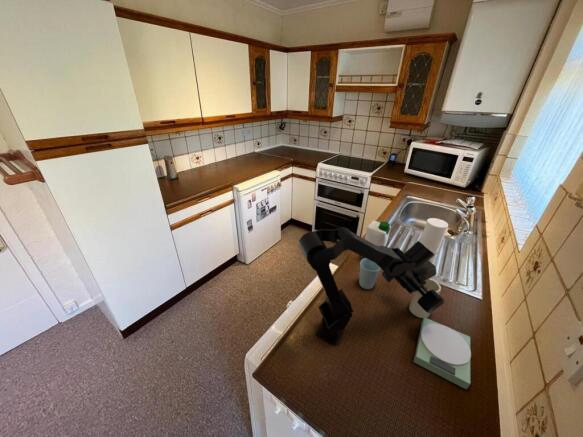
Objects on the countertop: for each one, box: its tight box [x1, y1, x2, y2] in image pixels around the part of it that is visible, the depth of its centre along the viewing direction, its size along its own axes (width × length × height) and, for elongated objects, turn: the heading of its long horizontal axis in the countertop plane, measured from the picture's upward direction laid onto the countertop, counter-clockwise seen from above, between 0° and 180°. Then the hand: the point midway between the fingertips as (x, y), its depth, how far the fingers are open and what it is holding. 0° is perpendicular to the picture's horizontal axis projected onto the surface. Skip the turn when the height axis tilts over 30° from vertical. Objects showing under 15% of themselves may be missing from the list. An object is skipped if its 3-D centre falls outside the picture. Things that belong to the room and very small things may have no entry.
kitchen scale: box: [413, 317, 472, 390], centre depth 71 cm, size 16×13×3 cm
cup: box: [358, 258, 382, 290], centre depth 94 cm, size 8×8×10 cm
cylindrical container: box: [419, 217, 449, 265], centre depth 97 cm, size 7×7×25 cm
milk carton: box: [360, 220, 392, 261], centre depth 105 cm, size 9×9×20 cm
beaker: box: [408, 278, 442, 319], centre depth 82 cm, size 7×7×12 cm
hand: (424, 293), depth 81 cm, fingers open, 9 cm apart
